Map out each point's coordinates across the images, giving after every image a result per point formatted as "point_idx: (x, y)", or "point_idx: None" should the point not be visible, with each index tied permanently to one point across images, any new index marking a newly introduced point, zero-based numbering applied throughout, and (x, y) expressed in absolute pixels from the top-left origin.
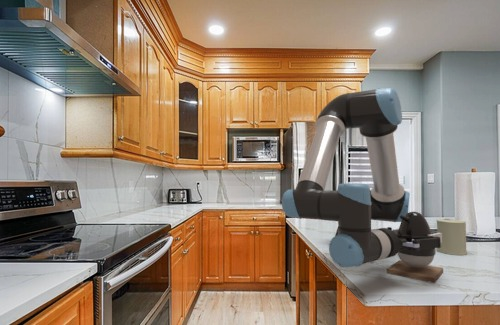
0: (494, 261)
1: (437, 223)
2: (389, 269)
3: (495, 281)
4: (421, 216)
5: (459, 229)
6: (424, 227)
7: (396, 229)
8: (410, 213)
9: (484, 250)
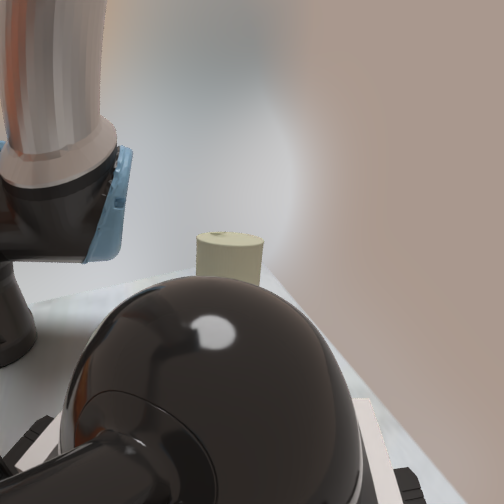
0: (319, 331)
1: (199, 249)
2: None
3: (424, 453)
4: (331, 362)
5: (254, 262)
6: (358, 488)
7: (46, 451)
8: (165, 343)
9: (269, 290)
